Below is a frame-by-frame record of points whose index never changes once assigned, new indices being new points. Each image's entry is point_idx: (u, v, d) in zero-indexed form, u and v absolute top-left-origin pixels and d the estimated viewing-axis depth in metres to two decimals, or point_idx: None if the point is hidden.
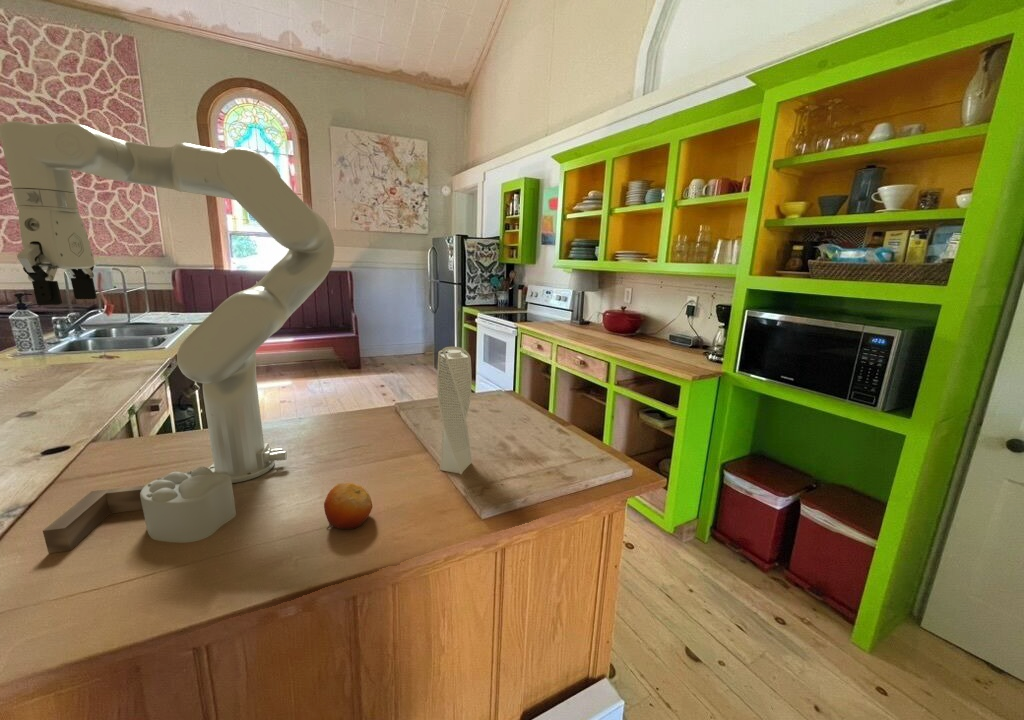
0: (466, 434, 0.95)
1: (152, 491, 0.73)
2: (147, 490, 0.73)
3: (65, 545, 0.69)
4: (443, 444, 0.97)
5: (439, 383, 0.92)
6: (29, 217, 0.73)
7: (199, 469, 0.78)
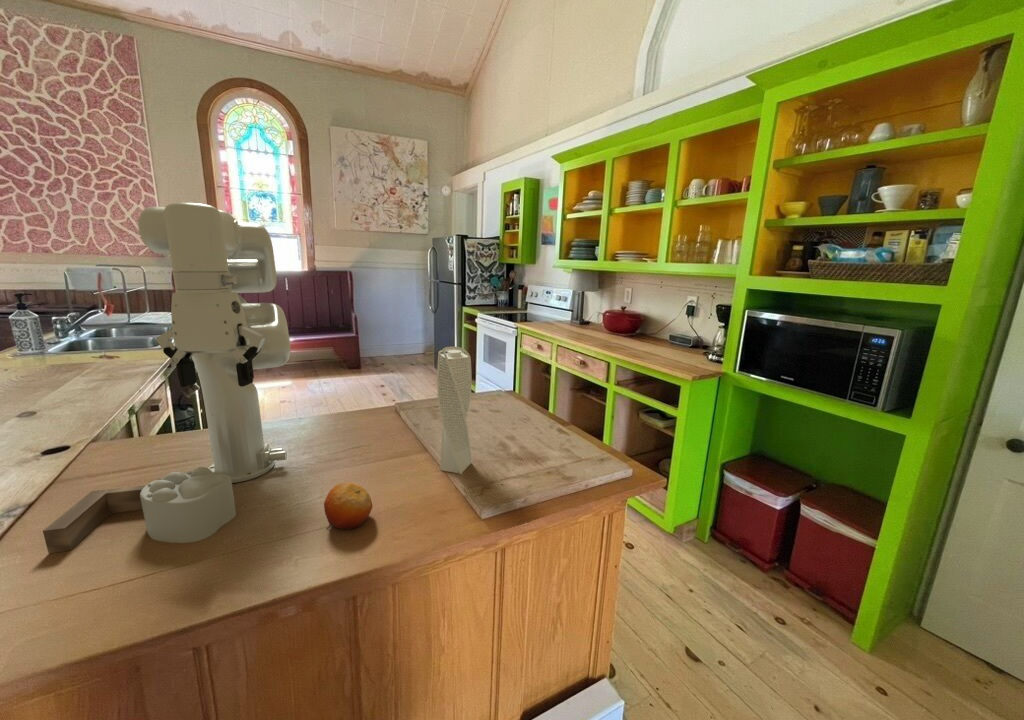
0: (466, 434, 0.95)
1: (152, 491, 0.72)
2: (147, 490, 0.73)
3: (65, 545, 0.69)
4: (443, 444, 0.97)
5: (439, 383, 0.92)
6: (232, 300, 0.72)
7: (199, 469, 0.78)
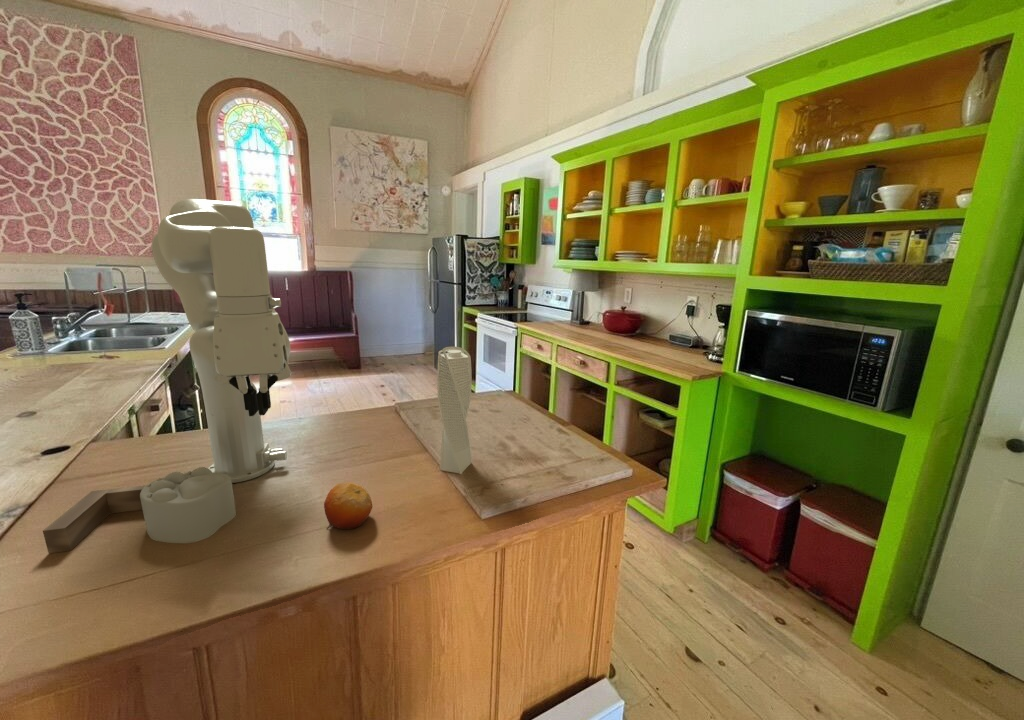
0: (466, 434, 0.95)
1: (152, 491, 0.72)
2: (147, 491, 0.73)
3: (65, 545, 0.69)
4: (443, 444, 0.97)
5: (439, 383, 0.92)
6: (278, 322, 0.73)
7: (199, 469, 0.78)
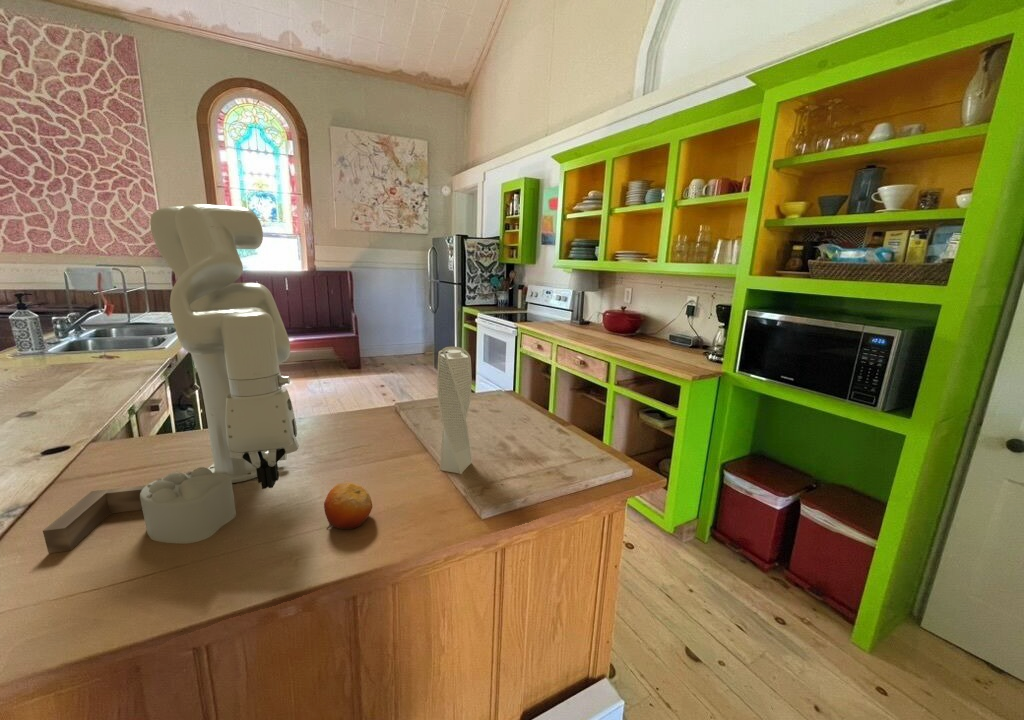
0: (466, 434, 0.95)
1: (152, 492, 0.72)
2: (147, 491, 0.73)
3: (65, 545, 0.69)
4: (443, 444, 0.97)
5: (439, 383, 0.92)
6: (287, 399, 0.76)
7: (199, 470, 0.77)
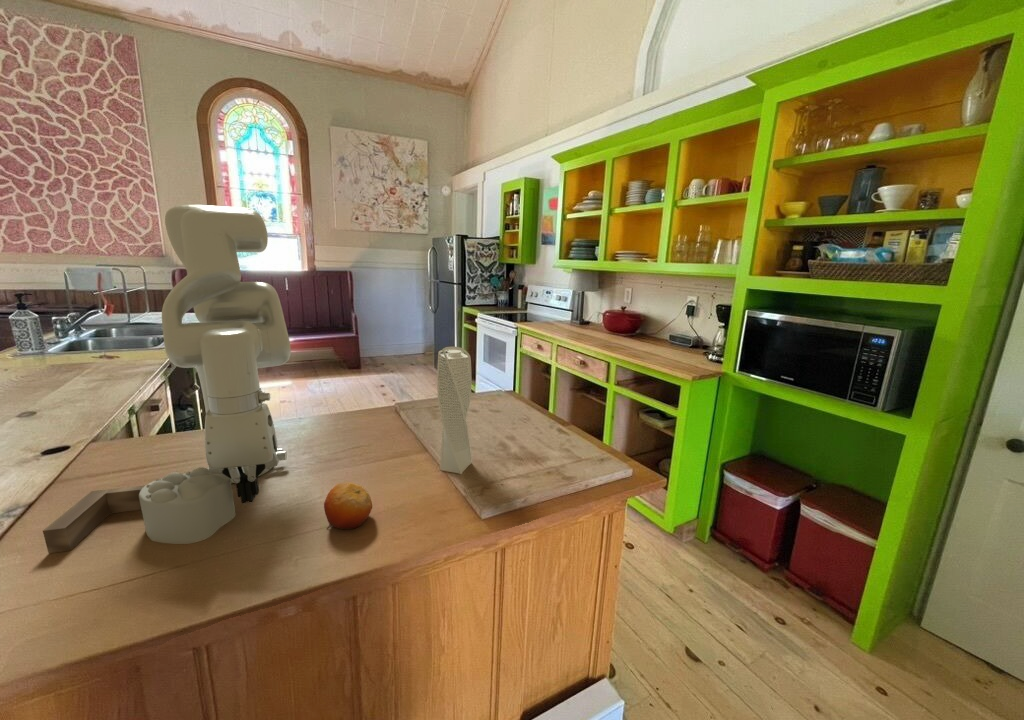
0: (466, 434, 0.95)
1: (151, 492, 0.72)
2: (146, 491, 0.73)
3: (65, 545, 0.69)
4: (443, 444, 0.97)
5: (439, 383, 0.92)
6: (267, 415, 0.76)
7: (198, 470, 0.77)
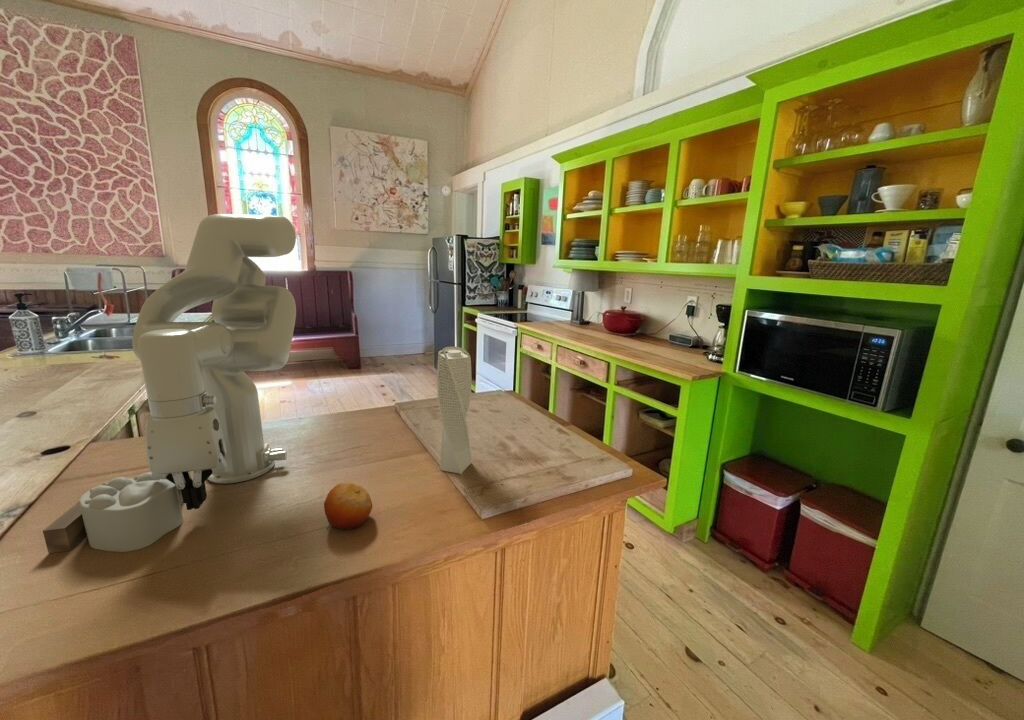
0: (466, 434, 0.95)
1: (92, 497, 0.70)
2: (87, 496, 0.71)
3: (65, 545, 0.69)
4: (443, 444, 0.97)
5: (439, 383, 0.92)
6: (212, 419, 0.74)
7: (144, 475, 0.75)
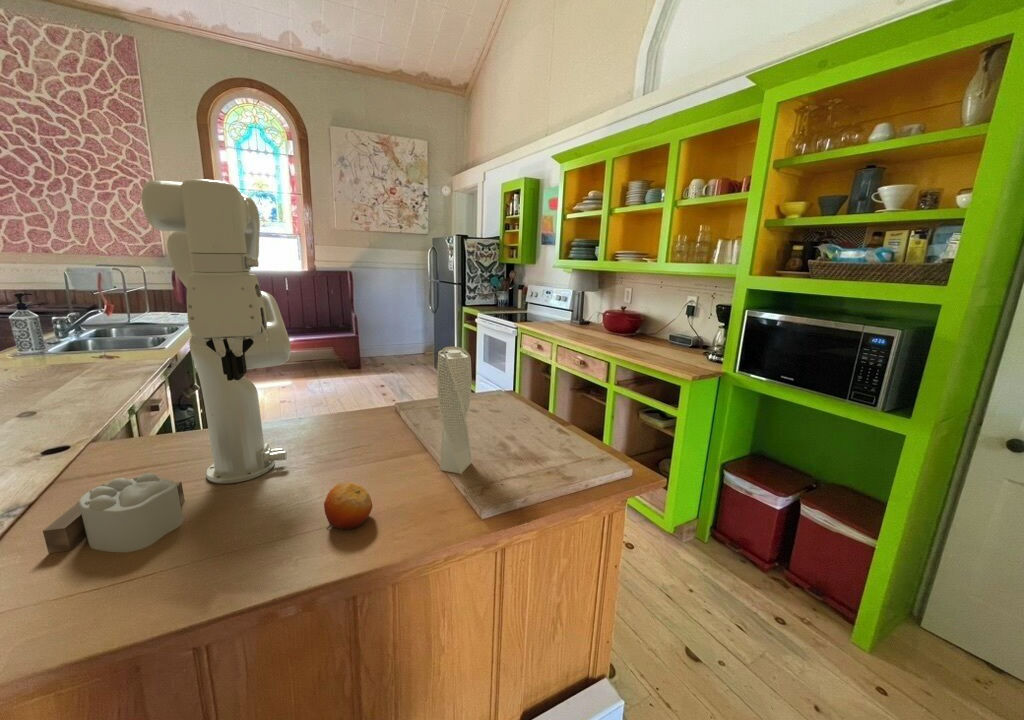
0: (466, 434, 0.95)
1: (92, 498, 0.70)
2: (87, 497, 0.71)
3: (65, 545, 0.69)
4: (443, 444, 0.97)
5: (439, 383, 0.92)
6: (255, 283, 0.70)
7: (144, 475, 0.75)
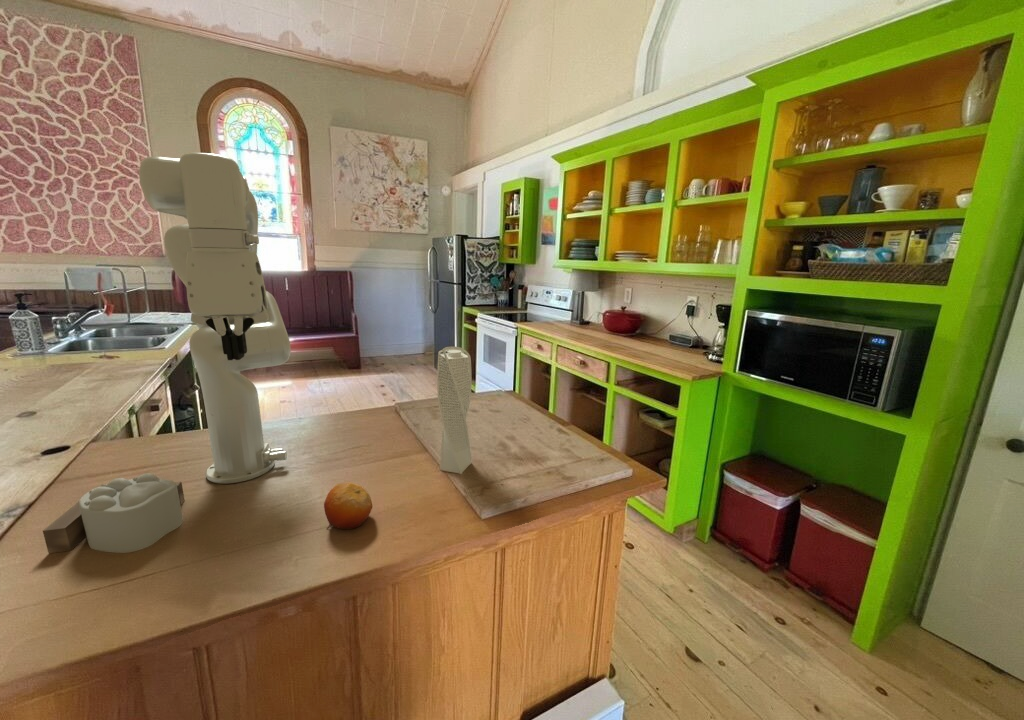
0: (466, 434, 0.95)
1: (91, 498, 0.70)
2: (87, 497, 0.71)
3: (65, 545, 0.69)
4: (443, 444, 0.97)
5: (439, 383, 0.92)
6: (255, 261, 0.69)
7: (144, 476, 0.75)
